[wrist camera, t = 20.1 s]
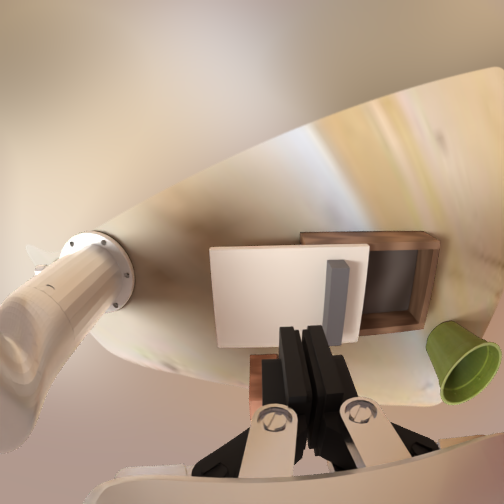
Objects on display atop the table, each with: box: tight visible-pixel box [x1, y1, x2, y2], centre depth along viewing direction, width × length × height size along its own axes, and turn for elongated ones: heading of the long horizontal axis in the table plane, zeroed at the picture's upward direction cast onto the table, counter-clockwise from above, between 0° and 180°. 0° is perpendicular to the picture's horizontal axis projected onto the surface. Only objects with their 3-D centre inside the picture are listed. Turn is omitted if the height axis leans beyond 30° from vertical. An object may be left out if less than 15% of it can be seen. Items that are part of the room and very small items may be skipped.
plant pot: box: [426, 321, 502, 405], centre depth 41 cm, size 12×12×11 cm
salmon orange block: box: [249, 354, 277, 420], centre depth 43 cm, size 4×4×10 cm
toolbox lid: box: [209, 244, 370, 348], centre depth 36 cm, size 18×13×4 cm
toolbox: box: [300, 231, 440, 336], centre depth 40 cm, size 18×13×5 cm
